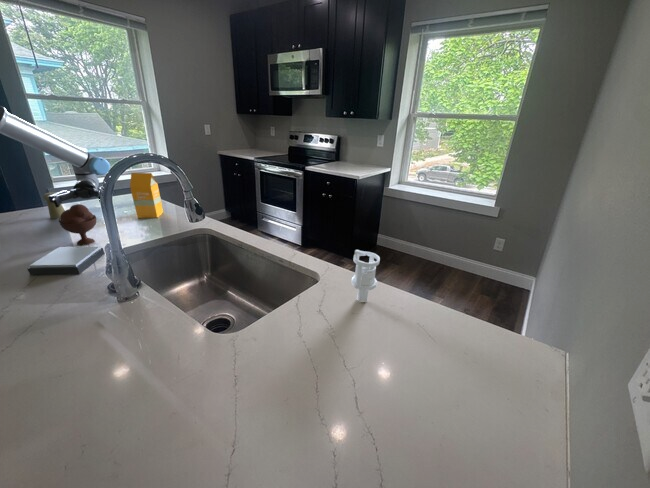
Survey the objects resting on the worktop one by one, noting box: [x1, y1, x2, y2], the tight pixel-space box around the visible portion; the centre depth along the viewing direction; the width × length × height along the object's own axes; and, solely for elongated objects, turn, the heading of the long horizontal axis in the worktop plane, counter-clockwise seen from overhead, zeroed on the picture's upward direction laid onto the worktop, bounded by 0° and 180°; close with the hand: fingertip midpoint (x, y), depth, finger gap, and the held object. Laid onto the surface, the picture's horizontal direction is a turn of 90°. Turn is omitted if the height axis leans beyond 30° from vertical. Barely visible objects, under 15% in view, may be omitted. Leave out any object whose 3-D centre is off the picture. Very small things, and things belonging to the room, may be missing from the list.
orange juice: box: [129, 172, 164, 219], centre depth 138 cm, size 8×9×20 cm
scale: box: [27, 246, 106, 276], centre depth 97 cm, size 14×14×3 cm
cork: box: [43, 192, 66, 220], centre depth 133 cm, size 6×6×11 cm
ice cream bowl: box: [58, 203, 97, 247], centre depth 110 cm, size 11×11×15 cm
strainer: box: [350, 249, 381, 303], centre depth 83 cm, size 7×7×15 cm
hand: (78, 201), depth 115 cm, fingers open, 13 cm apart
